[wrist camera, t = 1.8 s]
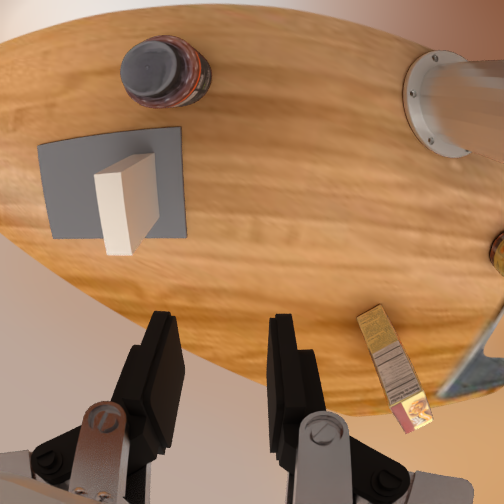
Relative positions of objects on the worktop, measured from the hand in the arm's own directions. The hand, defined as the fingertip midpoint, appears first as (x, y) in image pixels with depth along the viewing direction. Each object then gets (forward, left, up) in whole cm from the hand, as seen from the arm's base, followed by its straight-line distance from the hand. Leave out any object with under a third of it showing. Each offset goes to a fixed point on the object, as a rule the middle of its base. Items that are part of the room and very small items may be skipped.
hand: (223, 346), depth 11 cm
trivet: (+15, 0, -23) cm, 28 cm away
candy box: (-19, +20, -23) cm, 36 cm away
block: (+10, 0, -23) cm, 25 cm away
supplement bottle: (+6, -11, -23) cm, 27 cm away
